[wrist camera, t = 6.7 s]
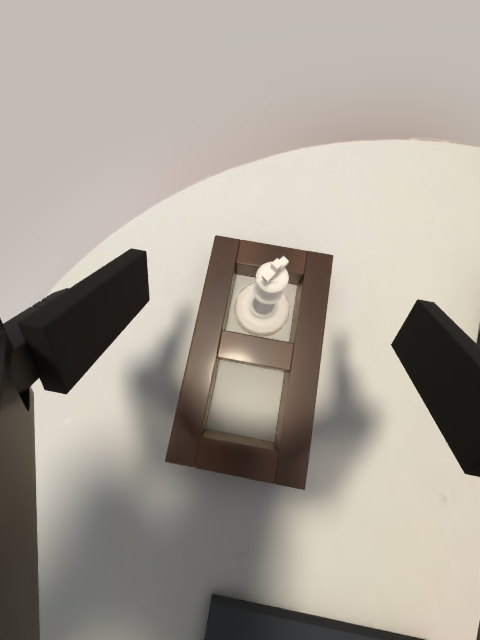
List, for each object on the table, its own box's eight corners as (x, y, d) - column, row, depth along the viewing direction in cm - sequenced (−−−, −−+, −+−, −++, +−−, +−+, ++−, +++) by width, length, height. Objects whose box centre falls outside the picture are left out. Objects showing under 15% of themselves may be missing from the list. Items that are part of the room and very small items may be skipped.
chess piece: (223, 307, 24) (211, 261, 14) (262, 272, 24) (277, 205, 15) (260, 347, 23) (277, 328, 13) (300, 310, 24) (342, 265, 14)
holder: (173, 451, 21) (164, 462, 19) (217, 248, 25) (215, 234, 22) (297, 476, 21) (305, 490, 19) (324, 266, 25) (333, 255, 22)
